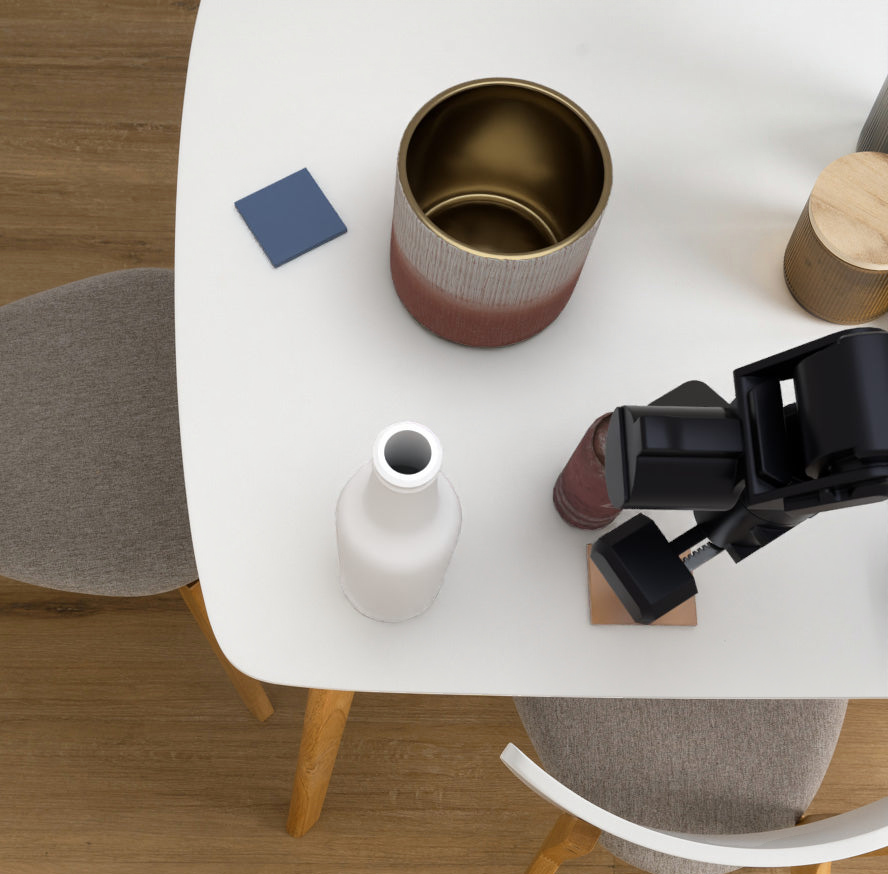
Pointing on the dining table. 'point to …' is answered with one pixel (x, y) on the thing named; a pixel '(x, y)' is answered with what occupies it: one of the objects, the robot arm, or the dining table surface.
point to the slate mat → (290, 217)
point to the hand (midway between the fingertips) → (689, 545)
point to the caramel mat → (614, 613)
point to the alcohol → (397, 525)
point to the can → (586, 482)
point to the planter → (496, 209)
